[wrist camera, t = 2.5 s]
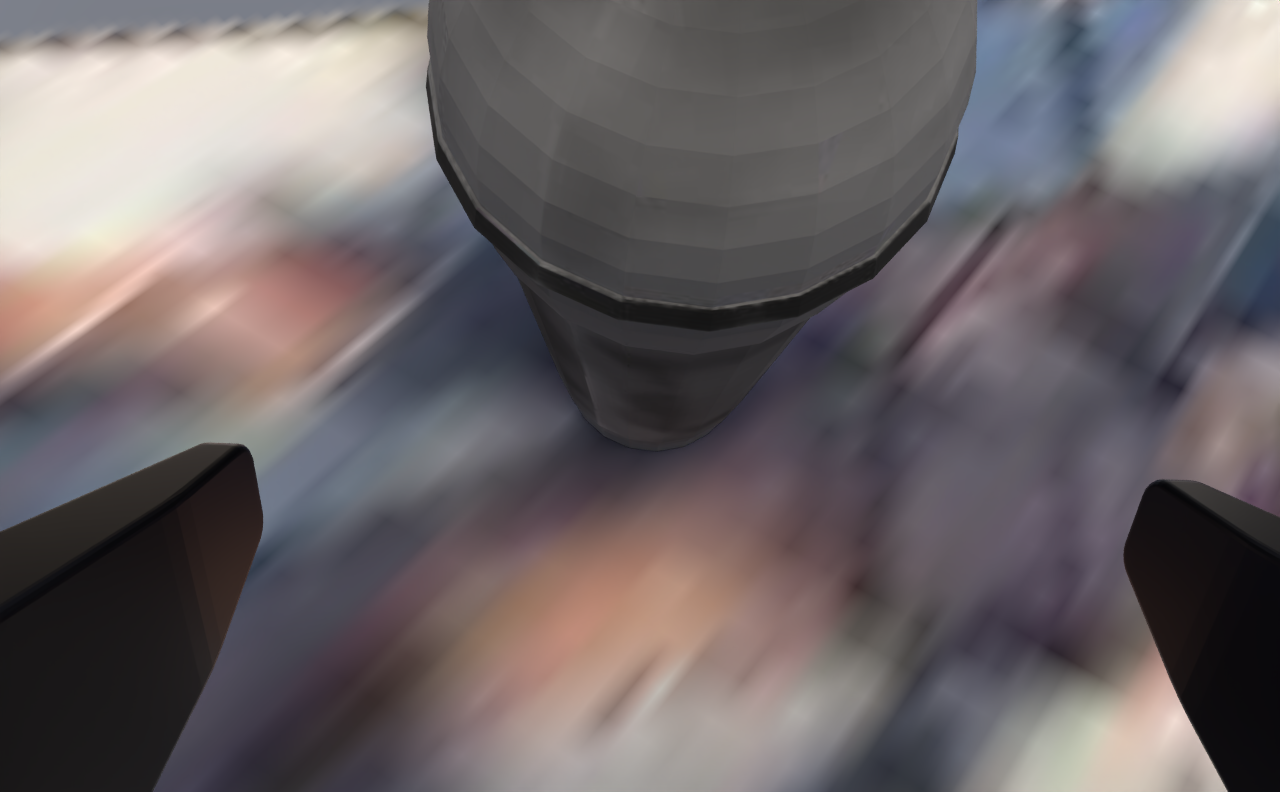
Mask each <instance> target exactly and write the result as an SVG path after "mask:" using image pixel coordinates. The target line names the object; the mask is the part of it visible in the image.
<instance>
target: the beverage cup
mask: <svg viewBox="0 0 1280 792" xmlns="http://www.w3.org/2000/svg"><path fill="white" fill-rule="evenodd" d="M427 38H428V45H429V52H430V61H429V65H428V70H427V82H426V90H427V97H428V104H429V111H430V118H431V125H432V132H433V139H434V146H435V153H436V159H437V161H438V163H439V165H440V167H441V168H442V170H443V172H444V174H445V176H446V177H447V179H448V181H449V183H450V185H451V187H452V188H453V190H454V192H455V194H456V196H457V197H458V199H459V201H460V203H461V205H462V206H463V208H464V210H465V212H466V214H467V215H468V217H469V219H470V221H471V223H472V224H473V226H474V228H475V229H476V230H477V231H479V232H480V233H481V234H482V235H483V236H484V237H485V238H486V239H488V240H489V241H490V242H491V243H492V244H493V246H494V248H495V249H496V250H497V252H498V253H499V254H500V256H501V257H502V258H503V260H504V261H505V262H506V263H507V265H508V266H509V267H510V269H511V270H512V271H513V273H514V274H515V275H516V276H517V277H518V280H519V282H520V284H521V286H522V289H523V291H524V293H525V296H526V298H527V300H528V303H529V305H530V307H531V310H532V312H533V314H534V317H535V319H536V321H537V324H538V326H539V328H540V331H541V333H542V335H543V338H544V340H545V342H546V345H547V347H548V349H549V352H550V354H551V356H552V359H553V361H554V363H555V366H556V368H557V370H558V373H559V375H560V377H561V379H562V381H563V383H564V384H565V386H566V388H567V390H568V392H569V393H570V395H571V397H572V399H573V401H574V402H575V404H576V405H577V406H578V408H579V410H580V412H581V414H582V415H583V417H584V418H585V419H586V420H587V421H588V422H589V423H590V424H591V425H592V426H593V427H594V428H596V429H597V430H598V431H599V432H600V433H601V434H602V435H603V436H605V437H607V438H609V439H611V440H613V441H616V442H618V443H620V444H622V445H624V446H626V447H628V448H635V449H642V450H650V451H662V450H667V449H673V448H679V447H684V446H686V445H688V444H690V443H692V442H694V441H696V440H697V439H699V438H701V437H703V436H705V435H707V434H709V433H710V432H711V430H712V429H713V428H714V427H715V426H716V425H717V424H719V423H721V422H722V421H723V420H724V419H725V418H726V417H727V416H728V415H729V413H730V412H731V411H732V410H733V409H734V408H735V407H736V406H737V405H738V404H739V403H740V402H741V401H742V400H743V398H744V397H745V396H746V395H747V394H748V392H749V391H750V390H751V389H752V388H753V386H754V385H755V384H756V383H757V382H758V380H759V379H760V378H761V377H762V375H763V374H764V373H765V372H766V371H767V369H768V368H769V367H770V366H771V365H772V363H773V362H774V361H775V360H776V359H777V357H778V356H779V355H780V354H781V352H782V351H783V350H784V349H785V348H786V346H787V345H788V344H789V343H790V342H791V340H792V339H793V338H794V337H795V335H796V334H797V333H798V332H799V331H800V329H801V328H802V327H803V326H804V325H805V323H806V322H807V321H808V320H809V319H810V317H812V316H814V315H816V314H818V313H819V312H821V311H822V310H823V309H825V308H826V307H827V306H829V305H830V304H831V303H833V302H834V301H835V300H837V299H838V298H840V297H841V296H842V295H844V294H845V293H846V292H848V291H850V290H852V289H853V288H855V287H857V286H859V285H861V284H863V283H865V282H867V281H869V280H871V279H873V278H874V277H875V276H876V275H877V274H878V273H879V272H880V270H881V269H882V268H883V267H884V266H885V265H886V264H887V263H888V262H889V261H890V260H891V259H892V258H893V257H894V256H895V255H896V253H897V252H898V251H899V250H900V249H901V248H902V247H903V246H904V245H905V244H906V243H907V242H908V241H909V240H910V239H911V238H912V236H913V235H914V234H915V233H916V232H917V231H918V230H919V229H920V228H921V227H922V226H923V225H924V224H925V223H926V222H927V220H928V217H929V215H930V212H931V210H932V207H933V205H934V203H935V200H936V198H937V195H938V193H939V190H940V188H941V185H942V183H943V181H944V178H945V176H946V173H947V171H948V168H949V166H950V164H951V161H952V159H953V156H954V154H955V149H956V144H957V139H958V127H959V124H960V122H961V120H962V117H963V115H964V112H965V110H966V108H967V105H968V101H969V97H970V93H971V89H972V85H973V81H974V77H975V73H976V44H977V0H429V10H428V33H427Z"/></svg>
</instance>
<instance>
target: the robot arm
mask: <svg viewBox="0 0 1280 792" xmlns="http://www.w3.org/2000/svg"><path fill="white" fill-rule="evenodd" d="M262 530H263V511H262V506H261V500H260V495H259V489H258V483H257V478H256V472H255V467H254V461H253V457H252V455H251V453H250V451H249V449H248V448H247V447H245V446H244V445H242V444H232V443H202V444H199V445H197V446H195V447H192V448H190V449H188V450H185V451H183V452H181V453H179V454H176V455H174V456H172V457H169V458H167V459H165V460H163V461H160V462H158V463H156V464H154V465H151V466H149V467H147V468H144V469H142V470H140V471H138V472H135V473H133V474H131V475H128V476H126V477H124V478H122V479H119V480H117V481H115V482H112V483H110V484H108V485H106V486H103V487H101V488H99V489H97V490H94V491H92V492H90V493H87V494H85V495H83V496H81V497H78V498H76V499H74V500H71V501H69V502H67V503H65V504H62V505H60V506H58V507H55V508H53V509H51V510H49V511H46V512H44V513H42V514H40V515H37V516H35V517H33V518H30V519H28V520H26V521H24V522H21V523H19V524H17V525H14V526H12V527H10V528H8V529H5V530H3V531H1V532H0V792H153V790H154V788H155V786H156V784H157V782H158V780H159V778H160V776H161V774H162V772H163V770H164V768H165V766H166V764H167V762H168V760H169V758H170V756H171V754H172V752H173V750H174V748H175V746H176V744H177V742H178V740H179V738H180V736H181V734H182V732H183V730H184V728H185V726H186V724H187V722H188V720H189V718H190V716H191V714H192V712H193V710H194V708H195V706H196V704H197V702H198V700H199V698H200V696H201V694H202V692H203V689H204V687H205V685H206V683H207V681H208V679H209V677H210V674H211V672H212V670H213V668H214V665H215V663H216V660H217V658H218V655H219V653H220V650H221V648H222V645H223V642H224V639H225V637H226V634H227V631H228V628H229V625H230V623H231V620H232V617H233V614H234V611H235V609H236V606H237V603H238V600H239V598H240V595H241V592H242V589H243V586H244V584H245V581H246V578H247V575H248V572H249V570H250V567H251V564H252V561H253V558H254V556H255V553H256V550H257V547H258V544H259V542H260V539H261V535H262ZM1124 565H1125V569H1126V573H1127V575H1128V577H1129V580H1130V582H1131V585H1132V587H1133V590H1134V592H1135V595H1136V597H1137V599H1138V602H1139V604H1140V607H1141V609H1142V612H1143V614H1144V617H1145V619H1146V622H1147V624H1148V626H1149V629H1150V631H1151V634H1152V636H1153V639H1154V641H1155V644H1156V646H1157V648H1158V651H1159V653H1160V656H1161V658H1162V661H1163V663H1164V666H1165V668H1166V671H1167V673H1168V675H1169V678H1170V680H1171V682H1172V685H1173V687H1174V689H1175V691H1176V694H1177V696H1178V698H1179V700H1180V702H1181V704H1182V706H1183V708H1184V710H1185V712H1186V714H1187V716H1188V718H1189V720H1190V722H1191V724H1192V726H1193V728H1194V730H1195V732H1196V733H1197V735H1198V737H1199V739H1200V741H1201V743H1202V745H1203V746H1204V748H1205V750H1206V752H1207V754H1208V756H1209V758H1210V759H1211V761H1212V763H1213V765H1214V767H1215V769H1216V771H1217V773H1218V774H1219V776H1220V778H1221V780H1222V782H1223V784H1224V786H1225V787H1226V789H1227V791H1228V792H1280V517H1278V516H1276V515H1273V514H1271V513H1269V512H1266V511H1264V510H1262V509H1260V508H1257V507H1255V506H1253V505H1251V504H1248V503H1246V502H1244V501H1241V500H1239V499H1237V498H1235V497H1232V496H1230V495H1228V494H1226V493H1223V492H1221V491H1219V490H1216V489H1214V488H1212V487H1210V486H1207V485H1205V484H1203V483H1200V482H1197V481H1191V480H1156V481H1154V482H1153V483H1151V484H1150V485H1149V486H1148V487H1147V488H1146V490H1145V492H1144V494H1143V496H1142V499H1141V502H1140V504H1139V507H1138V510H1137V513H1136V515H1135V518H1134V521H1133V524H1132V526H1131V529H1130V532H1129V534H1128V537H1127V540H1126V543H1125V547H1124Z"/></svg>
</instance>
